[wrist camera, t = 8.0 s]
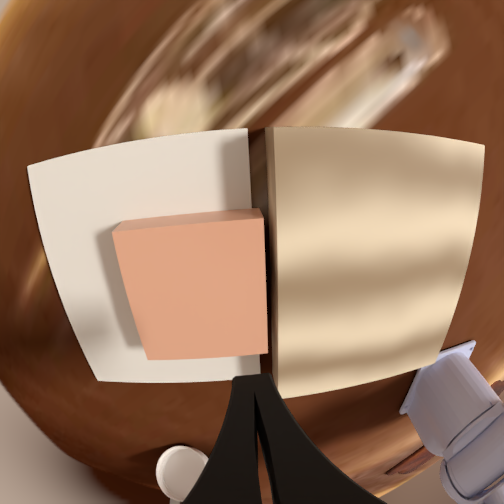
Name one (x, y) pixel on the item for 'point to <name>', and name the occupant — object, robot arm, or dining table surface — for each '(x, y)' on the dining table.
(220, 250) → the tile
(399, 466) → the wooden tablet
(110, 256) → the mat
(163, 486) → the spread jar
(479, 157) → the block
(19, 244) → the dining table surface
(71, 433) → the dining table surface
